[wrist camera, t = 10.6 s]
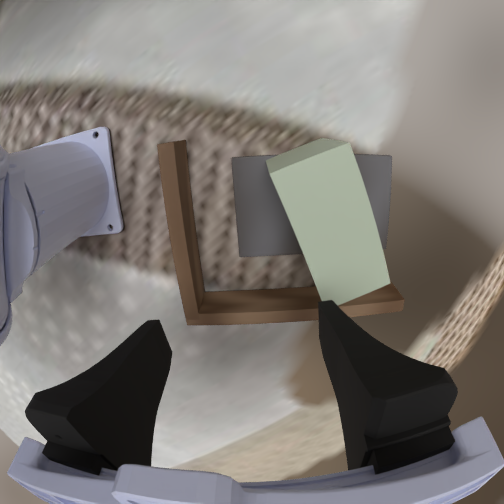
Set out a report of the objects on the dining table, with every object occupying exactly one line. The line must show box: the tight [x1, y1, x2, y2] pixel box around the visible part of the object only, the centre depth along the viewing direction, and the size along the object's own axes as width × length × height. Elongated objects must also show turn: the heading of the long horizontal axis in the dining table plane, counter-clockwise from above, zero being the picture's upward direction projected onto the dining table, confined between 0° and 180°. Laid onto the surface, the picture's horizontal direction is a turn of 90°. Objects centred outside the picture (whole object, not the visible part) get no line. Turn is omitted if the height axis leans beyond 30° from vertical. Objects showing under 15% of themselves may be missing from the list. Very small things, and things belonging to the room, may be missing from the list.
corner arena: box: [157, 140, 405, 325], centre depth 19 cm, size 16×12×3 cm
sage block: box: [266, 138, 390, 305], centre depth 17 cm, size 4×8×6 cm, turn 24°
